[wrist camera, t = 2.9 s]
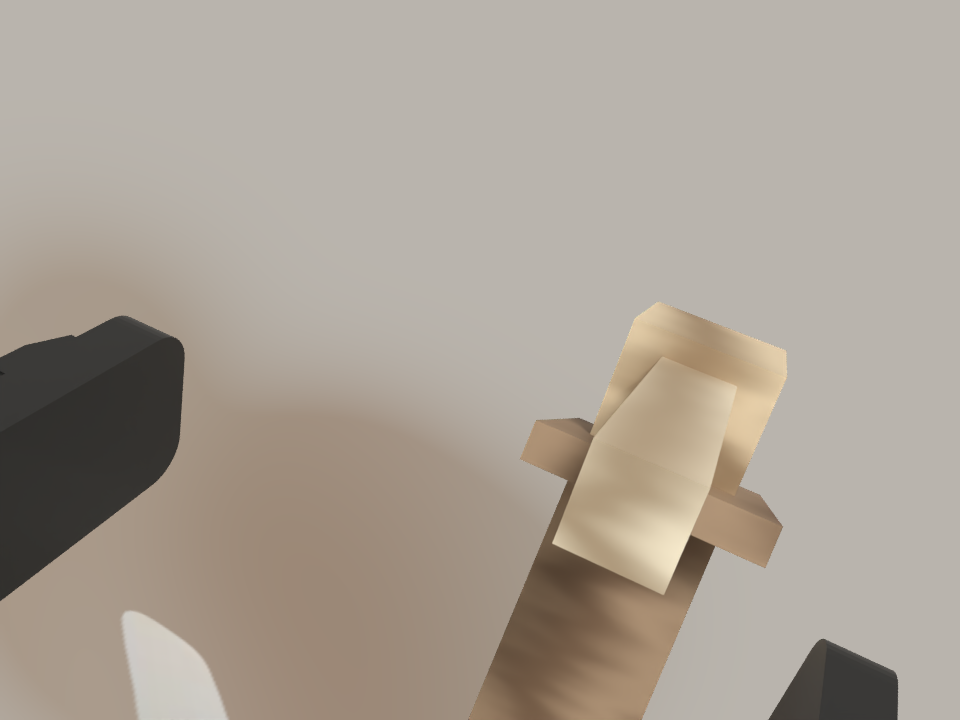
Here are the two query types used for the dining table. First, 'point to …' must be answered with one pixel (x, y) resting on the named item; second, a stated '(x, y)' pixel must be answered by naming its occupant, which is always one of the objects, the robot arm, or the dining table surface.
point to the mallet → (668, 441)
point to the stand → (603, 605)
